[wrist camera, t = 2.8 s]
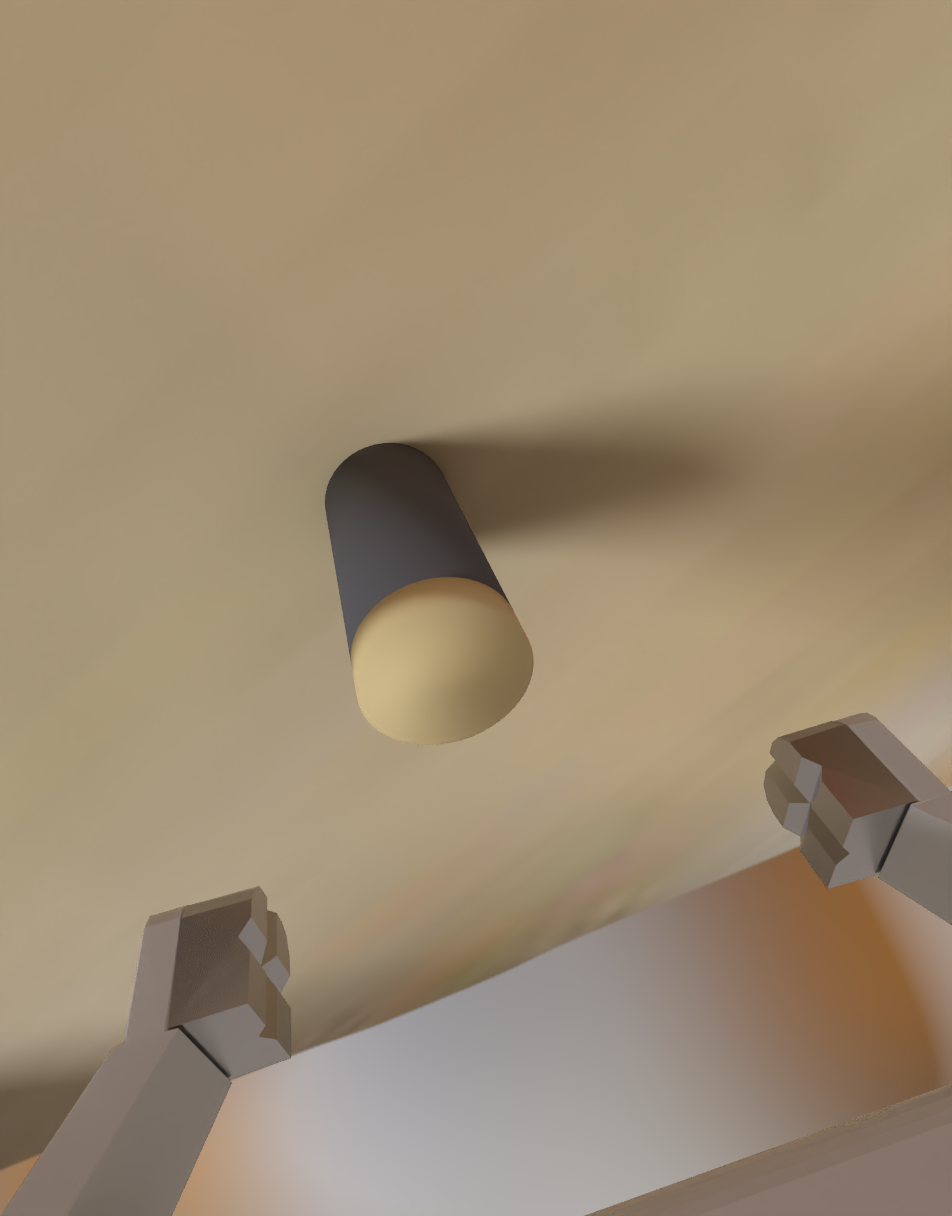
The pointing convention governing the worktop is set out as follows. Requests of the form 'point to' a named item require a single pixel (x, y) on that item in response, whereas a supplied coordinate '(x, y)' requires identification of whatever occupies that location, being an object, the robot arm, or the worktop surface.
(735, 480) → the worktop surface
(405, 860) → the worktop surface
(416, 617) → the cylinder
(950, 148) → the worktop surface
